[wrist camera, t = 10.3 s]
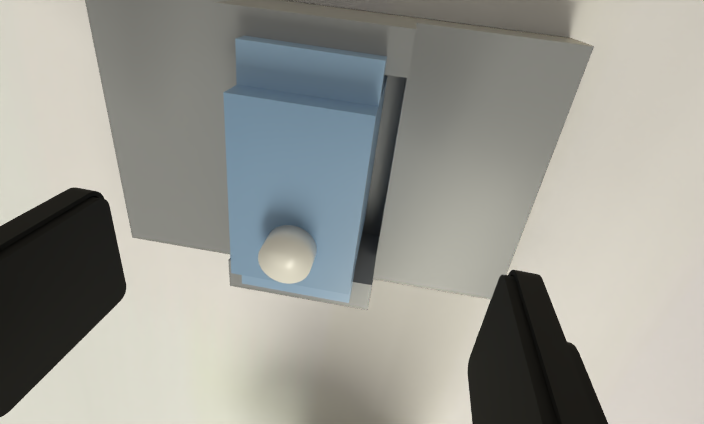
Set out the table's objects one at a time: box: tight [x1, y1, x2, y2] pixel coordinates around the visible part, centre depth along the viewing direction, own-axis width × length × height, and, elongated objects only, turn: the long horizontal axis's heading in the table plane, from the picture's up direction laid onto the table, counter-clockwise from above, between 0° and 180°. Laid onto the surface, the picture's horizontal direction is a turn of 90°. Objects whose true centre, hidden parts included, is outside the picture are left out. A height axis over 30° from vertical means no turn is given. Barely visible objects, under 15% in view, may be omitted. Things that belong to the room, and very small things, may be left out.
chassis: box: [85, 0, 594, 310], centre depth 15 cm, size 16×10×4 cm, turn 84°
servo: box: [223, 36, 387, 303], centre depth 14 cm, size 4×8×6 cm, turn 173°
